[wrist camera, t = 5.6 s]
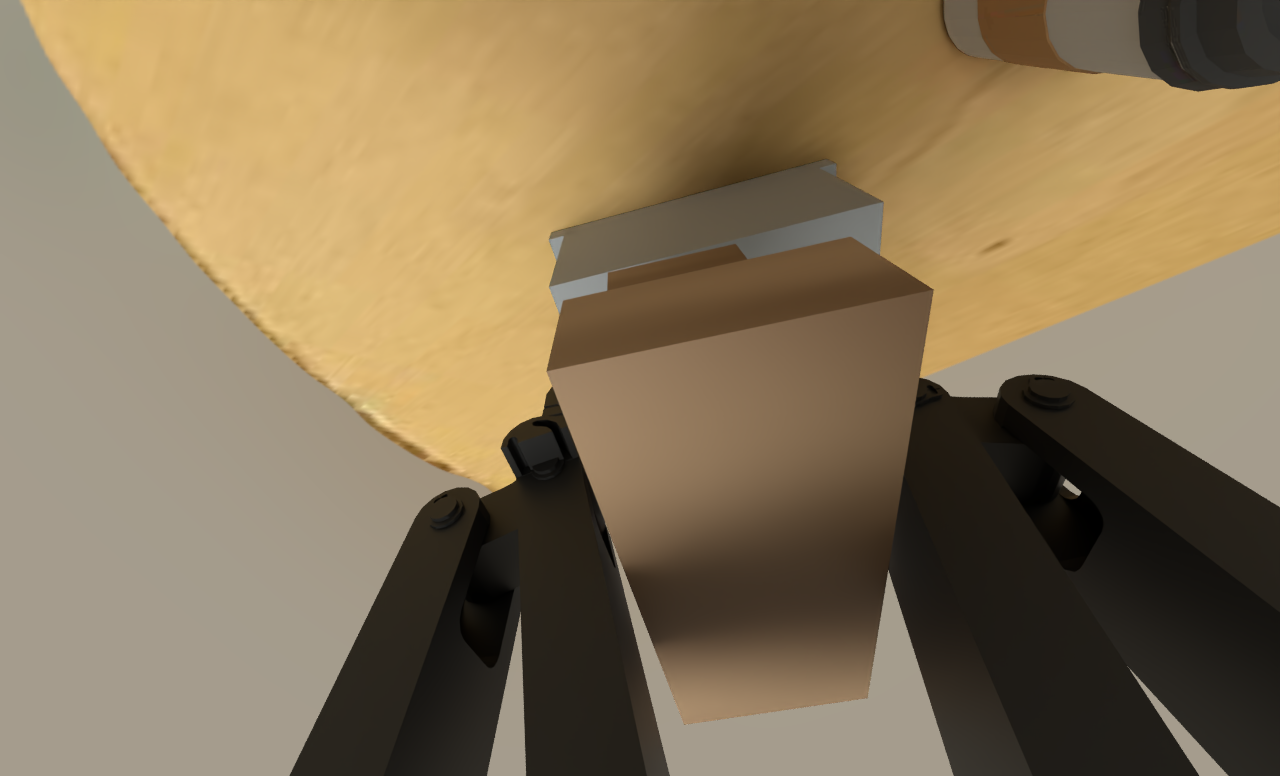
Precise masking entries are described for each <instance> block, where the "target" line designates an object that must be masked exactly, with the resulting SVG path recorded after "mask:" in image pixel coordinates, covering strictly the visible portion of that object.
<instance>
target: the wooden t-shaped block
mask: <svg viewBox="0 0 1280 776" xmlns="http://www.w3.org/2000/svg"><path fill="white" fill-rule="evenodd" d="M932 297H933V289H932V288H930V287H929V286H927V285H925V284H924V283H922V282H921V281H919V280H918V279H916V278H915V277H913V276H911V275H910V274H908V273H907V272H905V271H904V270H902V269H901V268H899V267H897V266H896V265H894V264H893V263H891V262H890V261H888V260H887V259H885V258H883V257H882V256H880V255H879V254H877V253H876V252H874V251H873V250H871V249H869V248H868V247H866V246H865V245H863V244H862V243H860V242H859V241H857V240H855V239H854V238H852V237H846V238H842V239H837V240H833V241H828V242H824V243H819V244H815V245H810V246H806V247H801V248H797V249H792V250H788V251H783V252H779V253H774V254H770V255H765V256H761V257H756V258H752V259H747V258H746V257H745V255H744V254H743V253H742V251H741V250H740V249H739V247H738V246H737V245H736V244H732V245H728V246H723V247H719V248H715V249H710V250H706V251H701V252H697V253H692V254H688V255H683V256H679V257H675V258H670V259H666V260H661V261H657V262H652V263H648V264H644V265H639V266H635V267H630V268H626V269H621V270H617V271H613V272H608V283H607V291H603V292H599V293H594V294H590V295H585V296H581V297H577V298H572V299H568V300H563V303H562V307H561V311H560V315H559V320H558V324H557V328H556V333H555V337H554V341H553V346H552V350H551V354H550V359H549V363H548V367H547V374H548V376H549V379H550V381H551V384H552V387H553V389H554V392H555V394H556V397H557V399H558V402H559V405H560V407H561V410H562V412H563V415H564V417H565V420H566V422H567V425H568V428H569V430H570V433H571V435H572V438H573V440H574V443H575V446H576V448H577V451H578V453H579V456H580V458H581V461H582V464H583V466H584V469H585V471H586V474H587V476H588V479H589V482H590V484H591V487H592V489H593V492H594V494H595V497H596V499H597V502H598V505H599V507H600V510H601V512H602V515H603V517H604V520H605V523H606V525H607V528H608V530H609V532H610V535H611V538H612V541H613V543H614V546H615V548H616V551H617V553H618V556H619V559H620V561H621V563H622V566H623V569H624V571H625V573H626V576H627V579H628V581H629V584H630V587H631V589H632V592H633V594H634V597H635V599H636V602H637V605H638V607H639V610H640V612H641V615H642V618H643V620H644V623H645V625H646V628H647V630H648V633H649V635H650V638H651V641H652V643H653V646H654V648H655V651H656V653H657V656H658V658H659V661H660V664H661V666H662V668H663V671H664V674H665V676H666V679H667V682H668V684H669V687H670V689H671V692H672V694H673V697H674V700H675V702H676V705H677V707H678V710H679V712H680V715H681V718H682V720H683V723H684V725H686V724H692V723H699V722H706V721H713V720H720V719H726V718H734V717H741V716H748V715H754V714H760V713H768V712H775V711H782V710H789V709H795V708H802V707H809V706H816V705H823V704H830V703H837V702H843V701H851V700H858V699H864V698H867V697H868V691H869V685H870V679H871V673H872V667H873V661H874V654H875V648H876V642H877V636H878V629H879V623H880V617H881V611H882V605H883V599H884V593H885V587H886V580H887V574H888V568H889V562H890V556H891V550H892V543H893V537H894V531H895V525H896V519H897V513H898V506H899V500H900V494H901V488H902V482H903V476H904V469H905V463H906V457H907V451H908V445H909V439H910V432H911V426H912V420H913V414H914V408H915V401H916V395H917V389H918V383H919V377H920V371H921V364H922V358H923V352H924V346H925V340H926V334H927V327H928V321H929V315H930V309H931V303H932Z"/></svg>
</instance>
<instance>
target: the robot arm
mask: <svg viewBox="0 0 1280 776" xmlns="http://www.w3.org/2000/svg"><path fill="white" fill-rule="evenodd" d="M544 408H545V409H544V410H543V414H542V416H540V417H536V418H532V419H529V420H527V421H525V422H523V423H520V424H519V425H518V426H516V427H515V428H514V429H512V430H511V431H510V432H509V433H508V434H507V436H506V437H505V438H504V440H503V443H502V446H501V450H502V452H503V453H504V455H505V457H506V459H507V461H508V463H509V465H510V467H511V469H512V471H513V473H514V474H515V476H516V481H515V482H513V483H512V484H510V485H508V486H506V487H504V488H502V489H500V490H498V491H496V492H493V493H491V494H489V495H487V496H484V497H482V498H480V497H479V496H478V494H477V493H476V491H474V490H472V489H470V488H455V489H451V490H448V491H445V492H443V493H441V494H440V495H438V496H436V497H435V498H433V499H432V500H431V501H429V502H428V503H427V504H426V505H425V506H424V507H423V508H422V509H421V510H420V512H419V513H418V515H417V516H416V518H415V520H414V522H413V524H412V526H411V528H410V530H409V532H408V534H407V536H406V538H405V540H404V542H403V544H402V546H401V548H400V550H399V553H398V555H397V557H396V558H395V561H394V563H393V565H392V567H391V569H390V571H389V573H388V575H387V577H386V579H385V581H384V583H383V586H382V587H381V589H380V591H379V594H378V595H377V597H376V599H375V602H374V604H373V606H372V608H371V610H370V612H369V614H368V616H367V618H366V620H365V622H364V624H363V626H362V628H361V630H360V632H359V634H358V637H357V638H356V640H355V643H354V645H353V647H352V649H351V651H350V653H349V655H348V657H347V659H346V661H345V663H344V665H343V667H342V669H341V671H340V673H339V675H338V677H337V680H336V681H335V684H334V686H333V688H332V690H331V692H330V694H329V696H328V698H327V700H326V702H325V704H324V706H323V708H322V710H321V712H320V714H319V716H318V718H317V720H316V722H315V725H314V727H313V729H312V731H311V733H310V735H309V737H308V739H307V741H306V743H305V745H304V747H303V749H302V751H301V753H300V755H299V757H298V760H297V762H296V763H295V766H294V768H293V770H292V772H291V774H290V776H487V772H488V767H489V762H490V757H491V752H492V748H493V743H494V738H495V733H496V728H497V723H498V719H499V714H500V709H501V704H502V699H503V694H504V689H505V684H506V680H507V675H508V670H509V665H510V660H511V655H512V651H513V646H514V641H515V636H516V631H517V627H518V622H519V617H520V612H521V633H522V659H523V660H522V662H523V693H524V723H525V751H526V776H670V775H669V772H668V767H667V763H666V759H665V755H664V751H663V747H662V743H661V739H660V735H659V731H658V727H657V722H656V718H655V714H654V710H653V707H652V702H651V698H650V694H649V690H648V687H647V682H646V678H645V674H644V670H643V666H642V662H641V658H640V654H639V650H638V646H637V642H636V638H635V634H634V630H633V626H632V622H631V618H630V614H629V610H628V606H627V602H626V598H625V594H624V589H623V585H622V581H621V577H620V574H619V569H618V565H617V562H616V557H615V554H614V549H613V545H612V541H611V537H610V534H609V532H608V529H607V527H606V524H605V520H604V517H603V515H602V512H601V510H600V507H599V505H598V502H597V499H596V497H595V494H594V492H593V489H592V487H591V484H590V482H589V479H588V476H587V474H586V471H585V469H584V466H583V464H582V461H581V458H580V456H579V453H578V451H577V448H576V446H575V443H574V440H573V438H572V435H571V433H570V430H569V428H568V425H567V422H566V420H565V417H564V415H563V412H562V410H561V407H560V405H559V402H558V399H557V397H556V394H555V392H554V389H553V387H552V388H551V389H550V390H549V392H548V393H547V395H546V400H545V405H544ZM1065 479H1067V480H1068V481H1069V482H1071V483H1072V484H1073V485H1074V486H1075V487H1076V488H1078V489H1079V490H1080V491H1081V494H1080V495H1079V496H1078V495H1075V494H1074V493H1072V492H1071V491H1069V490H1068V489H1067V488H1066V487H1064V486H1063V483H1064V481H1065ZM888 570H889V573H890V576H891V580H892V583H893V586H894V589H895V592H896V595H897V598H898V601H899V605H900V608H901V611H902V614H903V617H904V620H905V624H906V627H907V630H908V633H909V636H910V639H911V643H912V646H913V649H914V652H915V655H916V658H917V661H918V665H919V668H920V671H921V674H922V677H923V680H924V683H925V687H926V690H927V693H928V696H929V699H930V702H931V706H932V709H933V712H934V715H935V718H936V721H937V724H938V727H939V731H940V734H941V737H942V740H943V743H944V746H945V750H946V753H947V756H948V759H949V762H950V765H951V769H952V772H953V775H954V776H1199V775H1198V773H1197V772H1196V770H1195V768H1194V767H1193V766H1192V764H1191V762H1190V761H1189V759H1188V758H1187V756H1186V755H1185V753H1184V752H1183V750H1182V749H1181V747H1180V746H1179V744H1178V743H1177V741H1176V740H1175V738H1174V737H1173V735H1172V733H1171V732H1170V730H1169V729H1168V727H1167V726H1166V724H1165V723H1164V721H1163V720H1162V718H1161V717H1160V715H1159V714H1158V712H1157V711H1156V709H1155V708H1154V706H1153V704H1152V703H1151V701H1150V700H1149V698H1148V697H1147V695H1146V694H1145V692H1144V691H1143V689H1142V688H1141V686H1140V685H1139V683H1138V682H1137V680H1136V679H1135V677H1134V676H1133V674H1132V673H1131V671H1130V669H1131V670H1132V671H1133V672H1134V674H1135V675H1136V676H1138V678H1139V679H1140V680H1141V681H1142V682H1143V683H1144V684H1145V685H1146V687H1147V688H1148V689H1149V690H1150V691H1151V692H1152V693H1153V694H1154V695H1155V696H1156V697H1157V698H1158V700H1159V701H1160V702H1161V703H1162V704H1163V705H1164V706H1165V707H1166V708H1167V709H1168V710H1169V712H1170V713H1171V714H1172V715H1173V716H1174V717H1175V718H1176V719H1177V720H1178V721H1179V722H1180V723H1181V725H1183V727H1184V728H1185V729H1186V730H1187V731H1188V732H1189V733H1190V734H1191V735H1192V737H1193V738H1194V739H1195V740H1196V741H1197V742H1198V743H1199V744H1200V745H1201V746H1202V747H1203V748H1204V749H1205V751H1206V752H1207V753H1208V754H1209V755H1210V756H1211V757H1212V758H1213V759H1214V760H1215V761H1216V763H1217V764H1218V765H1219V766H1220V767H1221V768H1222V769H1223V770H1224V771H1225V772H1226V773H1227V774H1228V775H1229V776H1280V507H1279V506H1277V505H1275V504H1274V503H1272V502H1270V501H1269V500H1267V499H1266V498H1264V497H1262V496H1261V495H1259V494H1257V493H1256V492H1254V491H1253V490H1251V489H1249V488H1248V487H1246V486H1244V485H1243V484H1241V483H1240V482H1238V481H1236V480H1234V479H1233V478H1231V477H1230V476H1228V475H1227V474H1225V473H1223V472H1222V471H1220V470H1218V469H1217V468H1215V467H1213V466H1212V465H1210V464H1209V463H1207V462H1205V461H1204V460H1202V459H1200V458H1199V457H1197V456H1196V455H1194V454H1192V453H1191V452H1189V451H1187V450H1186V449H1184V448H1182V447H1181V446H1179V445H1178V444H1176V443H1174V442H1173V441H1171V440H1170V439H1168V438H1166V437H1164V436H1163V435H1161V434H1160V433H1158V432H1156V431H1155V430H1153V429H1152V428H1150V427H1148V426H1147V425H1145V424H1144V423H1142V422H1140V421H1138V420H1137V419H1135V418H1133V417H1132V416H1130V415H1129V414H1127V413H1126V412H1124V411H1122V410H1121V409H1119V408H1117V407H1116V406H1114V405H1113V404H1111V403H1109V402H1108V401H1106V400H1104V399H1103V398H1101V397H1100V396H1098V395H1096V394H1095V393H1093V392H1091V391H1090V390H1088V389H1087V388H1085V387H1083V386H1080V385H1078V384H1076V383H1074V382H1072V381H1069V380H1065V379H1062V378H1057V377H1054V376H1048V375H1034V374H1033V375H1023V376H1016V377H1014V378H1011V379H1008V380H1006V381H1005V382H1004V383H1003V384H1002V386H1001V387H1000V389H999V393H998V396H997V398H993V397H989V398H988V397H979V398H978V397H952V396H950V395H949V394H948V392H947V391H945V390H944V389H943V388H942V387H941V386H940V385H938V384H936V383H934V382H932V381H930V380H927V379H922V378H919V383H918V389H917V395H916V401H915V408H914V414H913V420H912V426H911V432H910V439H909V445H908V451H907V457H906V463H905V469H904V476H903V482H902V488H901V494H900V500H899V506H898V513H897V519H896V525H895V531H894V537H893V543H892V550H891V556H890V562H889V568H888ZM1128 667H1129V668H1130V669H1129V668H1128Z"/></svg>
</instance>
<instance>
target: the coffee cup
mask: <svg viewBox="0 0 1280 776" xmlns="http://www.w3.org/2000/svg"><path fill="white" fill-rule="evenodd" d="M944 20H945V24H946V28H947V32H948V34H949V37H950V38H951V40H952V41H953V43H954V44H955V46H956V47H957V48H958V49H959V50H961V51H962V52H964V53H965V54H967V55H968V56H973V57H978V58H985V59H993V60H1001V61H1004V62H1009V63H1014V64H1020V65H1027V66H1035V67H1043V68H1050V69H1058V70H1066V71H1074V72H1082V73H1090V74H1098V73H1110V74H1118V75H1126V76H1135V77H1143V78H1151V79H1160V80H1164V81H1165V82H1166V83H1168V84H1169V85H1170V86H1172V87H1177V88H1182V89H1188V90H1193V91H1205V90H1212V89H1219V88H1226V89H1239V88H1246V87H1253V86H1260V85H1267V84H1273V83H1275V82H1278V81H1280V0H944Z"/></svg>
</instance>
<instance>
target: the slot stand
mask: <svg viewBox="0 0 1280 776" xmlns="http://www.w3.org/2000/svg"><path fill="white" fill-rule="evenodd" d="M883 203H884V202H883V201H881V200H879V199H877V198H875V197H874V196H872V195H870V194H868V193H866V192H864V191H862V190H860V189H858V188H856V187H855V186H853V185H851V184H849V183H847V182H845V181H843V180H841V179H839V178H837V177H836V163H834V162H832V161H830V160H828V159H825V160H821V161H817V162H813V163H810V164H806V165H802V166H799V167H795V168H791V169H787V170H784V171H780V172H776V173H772V174H769V175H765V176H761V177H757V178H754V179H750V180H746V181H742V182H739V183H735V184H731V185H728V186H724V187H720V188H716V189H713V190H709V191H705V192H701V193H698V194H694V195H690V196H686V197H683V198H679V199H675V200H671V201H668V202H664V203H660V204H656V205H653V206H649V207H645V208H642V209H638V210H634V211H630V212H627V213H623V214H619V215H615V216H612V217H608V218H604V219H600V220H597V221H593V222H589V223H585V224H582V225H578V226H574V227H571V228H567V229H563V230H559V231H556V232H552V233H551V235H550V238H549V242H550V244H551V247H552V250H553V253H554V255H555V258H556V265H555V268H554V272H553V275H552V278H551V282H550V285H549V288H550V291H551V293H552V296H553V298H554V301H555V304H556V306H557V309H558V311H559V314H560V311H561V307H562V303H563V300H568V299H572V298H577V297H581V296H585V295H590V294H594V293H599V292H603V291H607V283H608V272H613V271H617V270H621V269H626V268H630V267H635V266H639V265H644V264H648V263H652V262H657V261H661V260H666V259H670V258H675V257H679V256H683V255H688V254H692V253H697V252H701V251H706V250H710V249H715V248H719V247H723V246H728V245H732V244H736V245H737V246H738V247H739V249H740V250H741V251H742V253H743V254H744V255H745V257H746V258H747V259H752V258H756V257H761V256H765V255H770V254H774V253H779V252H783V251H788V250H792V249H797V248H801V247H806V246H810V245H815V244H819V243H824V242H828V241H833V240H837V239H842V238H846V237H852V238H854V239H855V240H857V241H859V242H860V243H862V244H863V245H865V246H866V247H868V248H869V249H871V250H873V251H874V252H876V253H877V254H879V255H880V245H881V231H882V217H883Z"/></svg>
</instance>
